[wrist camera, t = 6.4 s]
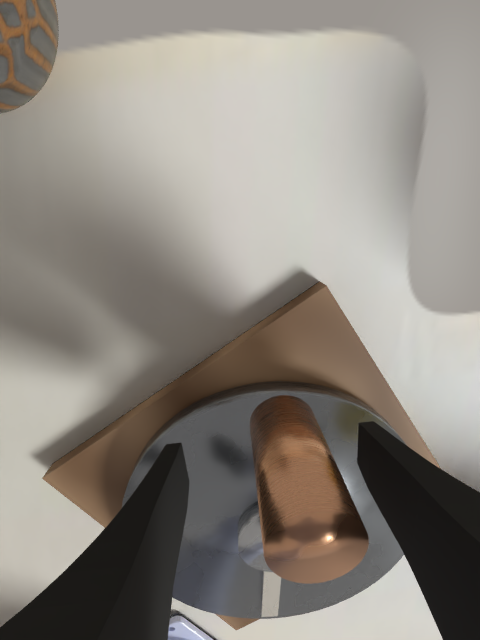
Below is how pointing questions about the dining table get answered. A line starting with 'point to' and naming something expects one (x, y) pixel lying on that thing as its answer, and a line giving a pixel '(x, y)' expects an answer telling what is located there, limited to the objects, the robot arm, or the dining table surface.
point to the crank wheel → (274, 501)
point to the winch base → (228, 372)
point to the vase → (26, 49)
